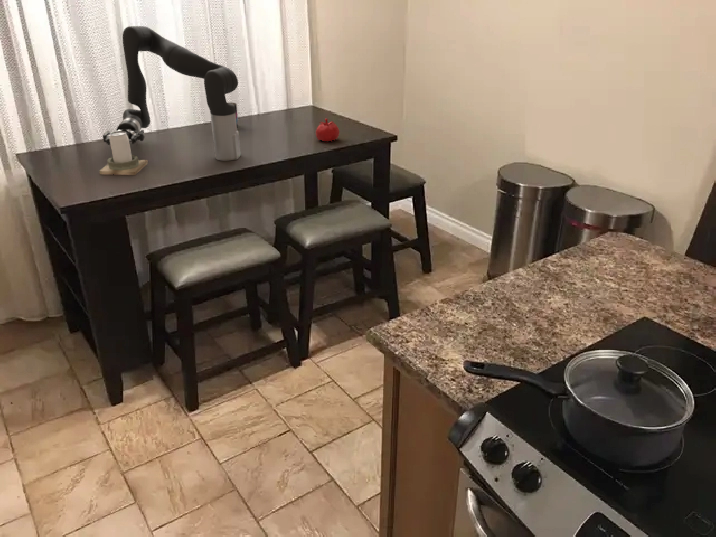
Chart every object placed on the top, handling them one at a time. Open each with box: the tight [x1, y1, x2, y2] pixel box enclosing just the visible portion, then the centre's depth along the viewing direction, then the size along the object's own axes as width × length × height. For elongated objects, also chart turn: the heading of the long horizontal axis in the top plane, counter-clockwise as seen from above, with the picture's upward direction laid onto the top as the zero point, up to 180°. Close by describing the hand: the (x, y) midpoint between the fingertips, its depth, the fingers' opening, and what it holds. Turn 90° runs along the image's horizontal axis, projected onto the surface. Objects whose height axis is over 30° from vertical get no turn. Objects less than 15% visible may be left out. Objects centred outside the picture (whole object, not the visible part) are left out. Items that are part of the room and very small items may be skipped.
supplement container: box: [228, 101, 239, 128], centre depth 272 cm, size 7×7×10 cm
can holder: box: [99, 154, 149, 176], centre depth 225 cm, size 13×13×4 cm
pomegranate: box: [315, 118, 340, 142], centre depth 256 cm, size 10×10×9 cm
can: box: [109, 130, 133, 163], centre depth 223 cm, size 6×6×12 cm
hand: (120, 141), depth 222 cm, fingers open, 8 cm apart
